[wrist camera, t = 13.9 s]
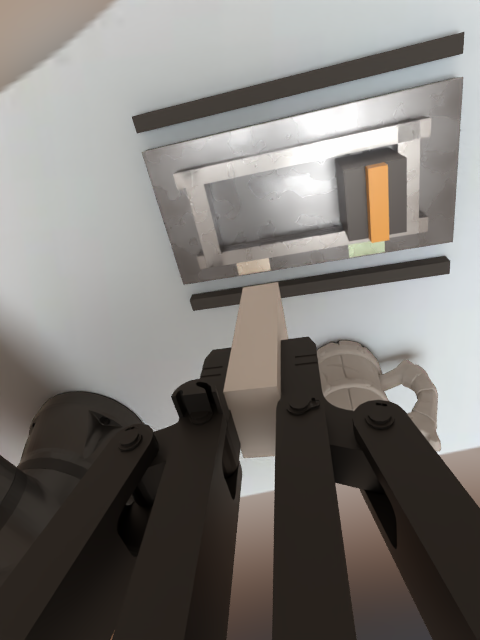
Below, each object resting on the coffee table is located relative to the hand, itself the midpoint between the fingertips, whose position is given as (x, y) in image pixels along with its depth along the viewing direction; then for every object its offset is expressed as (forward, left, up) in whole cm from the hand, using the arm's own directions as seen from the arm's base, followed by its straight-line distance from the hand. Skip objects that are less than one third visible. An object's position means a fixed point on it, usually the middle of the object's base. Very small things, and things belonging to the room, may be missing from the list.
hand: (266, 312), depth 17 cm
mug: (+6, -19, -20) cm, 28 cm away
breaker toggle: (+7, 0, -18) cm, 20 cm away
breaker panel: (+2, 0, -20) cm, 20 cm away
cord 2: (+2, +8, -20) cm, 21 cm away
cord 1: (+2, -8, -20) cm, 22 cm away
